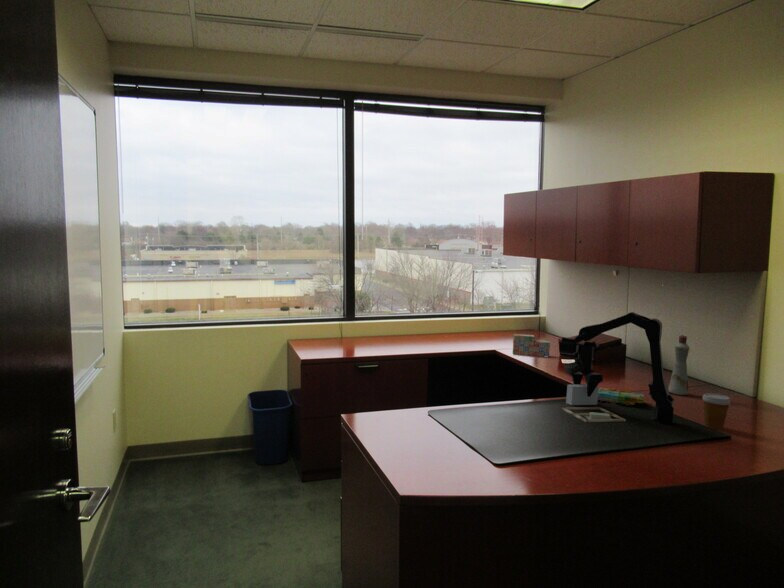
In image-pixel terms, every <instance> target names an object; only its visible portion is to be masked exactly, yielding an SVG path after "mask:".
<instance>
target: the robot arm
mask: <svg viewBox="0 0 784 588" xmlns="http://www.w3.org/2000/svg"><path fill="white" fill-rule="evenodd" d="M629 324H633V325H634V326H637V327H639V328H641V329H643V330H644V331H645V335H646V339H647V341H648V343H649V351H650V352H649V353H650V360H651V361H650V362H651V371H652V372H651V373H652V381H649V383H648V389H649V394H648V395H649V396H650V398H651V399H652V400H653V401H654V402H655V407H654V417H651V418H650V419H651V420H652V421H655V422H657V423H660V424H662V425H671V423H672V425H673V423H675V424H676V423H677V422H676V421H675V420H673V419H674V409H675V408H674V406H673V405H674V403H675V399H674V398H673V397H672V395H671V394H670V392H669V390H668V387H669V386H668V384H667V381H666V379H665V375H664V374H665V373H664V365H663V364H664V363H663V353H662V344H661V341H662V335H663V334H662V333H663V323H662V321H661V320H659V319H658V318H650V317H647V316H645V315H644V316H643V315H641V314H639V313H636V312H634V311H631V312H628V313H627V314H624V315H621V316H618V317H616V318H613V319H610V320H608V321H607V320H606V321H605V322H602V323H597V324H596V323H595V324H592V325H591V324H590V325H586V326H583V327H581V328H580V329H579V331H578V335H577V336H576V337H575V338H570V337H563V336H562V337H561V341H560V344H559V353H560V354H565V355H570V356H571V355H572V356H575V354H577V353H578V354H577V355H578V357H575V359H574V361H573V362H570V363H567V364H564V366H563V368H564V371H565V374H568V376H570V377H571V379H572V385H580V384H581V383H582V380H583V377H584V382H585V384H587V396H588V397H590V396H591V395H592V393H593V391H594V390H595V388H596V387H597V386H598V387H599V384H601V383H603V382H604V376H603V374H601V373H599V372H595V369H593V363H594V364H595V361H596V360H595V359H593V358H594V349H595V348H598V347H600V345H599V344H598V343H597V341H596V340H593V339H595V338H596V337H598V336H600V335H602V334H603V333H605V332H609V331H612V330H614V329H617V328H620V327H623V326H625V325H629ZM591 340H593V341H591ZM583 341H584V343H583ZM581 342H582V343H581Z"/></svg>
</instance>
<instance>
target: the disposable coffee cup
mask: <svg viewBox="0 0 784 588" xmlns="http://www.w3.org/2000/svg"><path fill="white" fill-rule="evenodd" d="M701 398H702V401H703V402H702V404H703V421H704V422H703V425H704V426H706V427H705V428H708V429H711V428H712V429H713V430H718V431H719V430H723V429H724V427H725V426H724V425H725V423H726V418H727V414H728V410H729V407H730V406H729V405H730V404H731V400H730V397H729V396H727V395H723V394H720V393H713V392H712V393H708V392H707V393H703V395H702V397H701Z"/></svg>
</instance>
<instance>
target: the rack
mask: <svg viewBox="0 0 784 588" xmlns="http://www.w3.org/2000/svg"><path fill="white" fill-rule="evenodd" d="M561 410H562V411H564V412H566V413H568V414H570V415H571V416H573V417H575V418H577V419H579V420H581V421H583V422H584V423H614V422H616V423H618V422H627V419H626V418H624V417H621V416H619V415H617V414H615V413H614V412H611V411H609V410H607V409H605V408H603V407H601V406H584V407H583V406H582V407H581V406H578V407H577V406H576V407H573V406H572V407H571V406H570V407H561ZM573 410H574V411H576V410H578V411H580V410H581V411H583V410H599V411H601V412H602V413H605V414H609V415H610V416H611V417H614V418H612V419H599V420H592V419H587V418H585V417H584V416H589V415H590V412H583V413H580V412H579V413H576V412H573Z"/></svg>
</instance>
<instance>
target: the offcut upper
mask: <svg viewBox="0 0 784 588" xmlns="http://www.w3.org/2000/svg"><path fill="white" fill-rule="evenodd" d="M589 413H590V415H589V416H590V418H594V419H610V417H611V415H609V414H605V412H592V411H591V412H590V411H589Z"/></svg>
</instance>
